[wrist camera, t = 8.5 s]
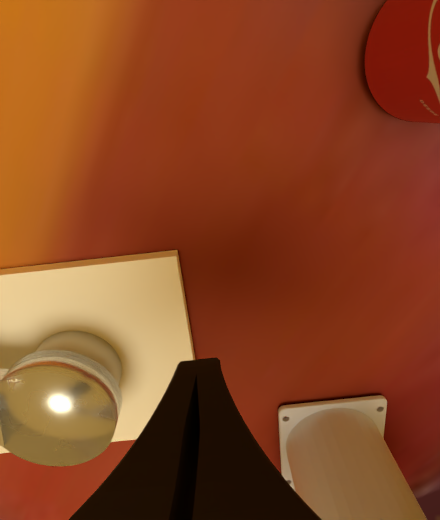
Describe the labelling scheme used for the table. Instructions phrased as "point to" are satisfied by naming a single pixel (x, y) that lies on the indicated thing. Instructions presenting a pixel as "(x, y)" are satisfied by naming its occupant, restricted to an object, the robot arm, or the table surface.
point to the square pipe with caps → (58, 408)
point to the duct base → (103, 322)
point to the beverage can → (406, 59)
